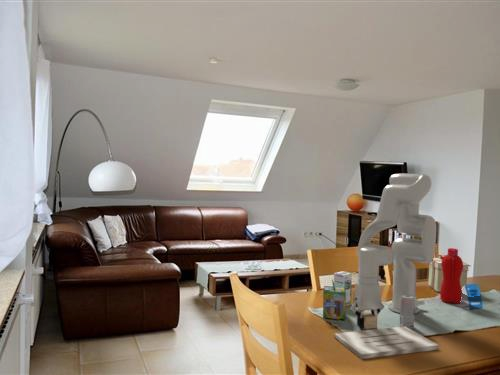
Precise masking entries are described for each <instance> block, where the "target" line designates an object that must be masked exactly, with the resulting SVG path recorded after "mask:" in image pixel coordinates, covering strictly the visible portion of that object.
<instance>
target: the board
mask: <svg viewBox="0 0 500 375" xmlns="http://www.w3.org/2000/svg"><path fill="white" fill-rule="evenodd" d="M334 339H336V340H337V341H338V342H340V343H341V344H342V345H343V346H344V347H346V348H347V349H348V350H349V351H350V352H352V353H353V354H355V355H356V356H357V357H358V358H359V359H361V360H365V359H371V358H372V359H373V358H379V357H389V356H396V355H397V356H398V355H404V354H412V353H420V352H429V351H435V350H439V348H440V345H439V344H438V343H436V342H434V341H432V340H430V339H429V338H427V337H425V336H423V335H421V334H420V333H418V332H416V331H414V330H413V329H409V328H407V327H405V326H404V327H400V326H393V327H387V328H386V327H385V328H377V329H374V330H357V331H347V332H346V331H345V332H336V333H334Z"/></svg>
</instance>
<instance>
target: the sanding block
mask: <svg viewBox="0 0 500 375" xmlns="http://www.w3.org/2000/svg"><path fill="white" fill-rule="evenodd" d="M363 318H364V329H366V330H374V329H378V316H377V317H376V316H374V315H373V314H371V312H369V310H364V314H363ZM357 324H358V316H357V315H356V325H357ZM364 329H363V330H364Z"/></svg>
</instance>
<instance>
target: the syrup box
mask: <svg viewBox="0 0 500 375" xmlns="http://www.w3.org/2000/svg"><path fill="white" fill-rule="evenodd" d="M352 279H353V278H352V273H351V272H349V271H342V270H341V271H338V272H334V273H333V282H334V286H337V287H345V290H346V307H347V306H350V305H351V306H352Z"/></svg>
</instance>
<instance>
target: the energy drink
mask: <svg viewBox="0 0 500 375" xmlns="http://www.w3.org/2000/svg"><path fill="white" fill-rule="evenodd" d="M414 312H415V298H414V296H411V295H401V298H400V313H399V322H398V323H399V324H398V325H399V327H400V326H401V327H404V326H405V327H407V328H409V329H411V330H413V329H414V327H415V314H414Z"/></svg>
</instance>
